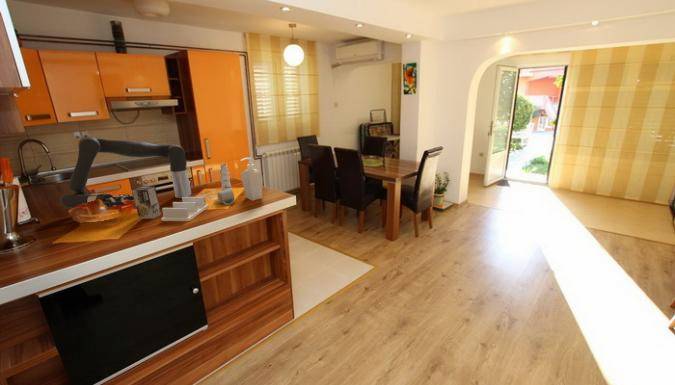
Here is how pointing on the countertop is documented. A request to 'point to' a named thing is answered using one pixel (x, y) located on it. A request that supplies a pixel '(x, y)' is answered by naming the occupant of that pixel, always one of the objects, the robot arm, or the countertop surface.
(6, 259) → the countertop surface
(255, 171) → the soap bottle
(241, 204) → the countertop surface
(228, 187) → the plastic bottle
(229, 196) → the ceramic mug
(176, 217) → the slot rack
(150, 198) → the coffee box
